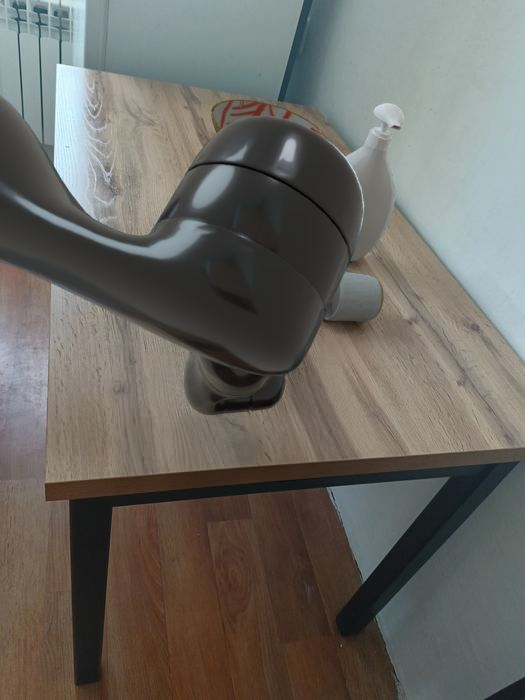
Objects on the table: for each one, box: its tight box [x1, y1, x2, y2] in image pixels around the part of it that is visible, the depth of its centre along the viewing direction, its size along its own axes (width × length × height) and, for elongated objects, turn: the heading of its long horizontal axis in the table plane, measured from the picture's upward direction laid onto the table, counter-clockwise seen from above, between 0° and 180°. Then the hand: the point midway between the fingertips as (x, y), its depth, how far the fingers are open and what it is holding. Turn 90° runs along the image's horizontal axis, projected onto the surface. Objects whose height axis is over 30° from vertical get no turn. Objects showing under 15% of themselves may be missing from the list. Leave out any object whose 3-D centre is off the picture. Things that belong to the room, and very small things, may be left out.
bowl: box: [210, 99, 327, 139], centre depth 115 cm, size 25×25×8 cm
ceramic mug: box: [323, 271, 385, 322], centre depth 84 cm, size 11×8×8 cm
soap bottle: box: [345, 102, 405, 263], centre depth 88 cm, size 14×8×27 cm, turn 93°
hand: (210, 213), depth 79 cm, fingers open, 8 cm apart
